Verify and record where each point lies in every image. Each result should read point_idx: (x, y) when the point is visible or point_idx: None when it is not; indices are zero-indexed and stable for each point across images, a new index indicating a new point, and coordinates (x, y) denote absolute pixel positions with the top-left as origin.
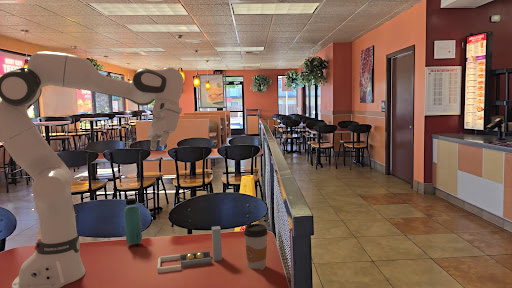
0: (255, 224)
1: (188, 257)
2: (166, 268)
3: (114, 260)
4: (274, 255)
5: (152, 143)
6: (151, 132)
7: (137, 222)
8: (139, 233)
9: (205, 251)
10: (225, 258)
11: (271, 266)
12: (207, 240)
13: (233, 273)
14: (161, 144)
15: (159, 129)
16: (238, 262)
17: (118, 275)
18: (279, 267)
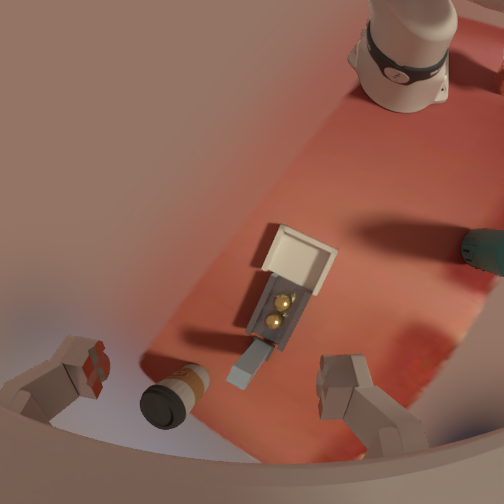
0: (171, 423)
1: (276, 297)
2: (273, 241)
3: (418, 176)
4: (216, 425)
5: (361, 404)
6: (405, 502)
7: (481, 258)
8: (470, 259)
9: (284, 342)
10: (263, 365)
11: None
12: None
13: (201, 336)
14: (71, 341)
15: (23, 439)
16: None
17: (337, 159)
18: None
